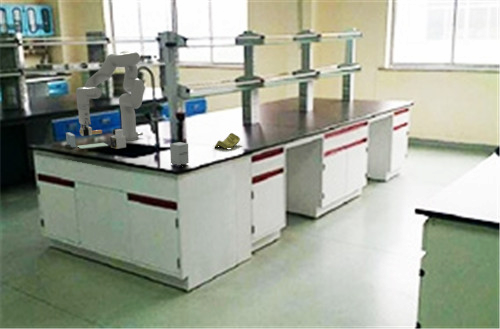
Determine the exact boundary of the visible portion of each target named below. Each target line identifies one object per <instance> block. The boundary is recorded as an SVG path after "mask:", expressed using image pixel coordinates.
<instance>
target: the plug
mask: <svg viewBox="0 0 500 329" xmlns="http://www.w3.org/2000/svg"><path fill="white" fill-rule="evenodd" d="M88 128H89V136H93V135H101V134H103V130H102V129H96V130H93V128H92V127H91V126H88ZM83 130H84V127H81V126H80V128H79V134H80V136H82V137H85V136H84V133H83Z"/></svg>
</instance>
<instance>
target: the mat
mask: <svg viewBox="0 0 500 329" xmlns="http://www.w3.org/2000/svg"><path fill="white" fill-rule="evenodd" d="M108 146H109V144H107V143H105V142H100V143H89V144H83V145H82V144H81V145H76V148H78V147H79V149H80V150H83V149H93V148H101V147H108Z"/></svg>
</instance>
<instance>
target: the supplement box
mask: <svg viewBox="0 0 500 329" xmlns="http://www.w3.org/2000/svg"><path fill="white" fill-rule="evenodd" d="M169 145H170V146H169V147H170V148H169V149H170V164H171V163H172V164H177V165H181V164H186V163H189V143H186V142H181V141H178V142H173V143H170V144H169Z"/></svg>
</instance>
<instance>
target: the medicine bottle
mask: <svg viewBox="0 0 500 329" xmlns="http://www.w3.org/2000/svg"><path fill="white" fill-rule="evenodd" d="M122 135H123V132H122V128H114V129H112V135H111V136H110V137H109V138H110V148H113V149H115V150H117V149H124V148H127V142H126V141H127V140H126V137H125V136H122Z"/></svg>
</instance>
